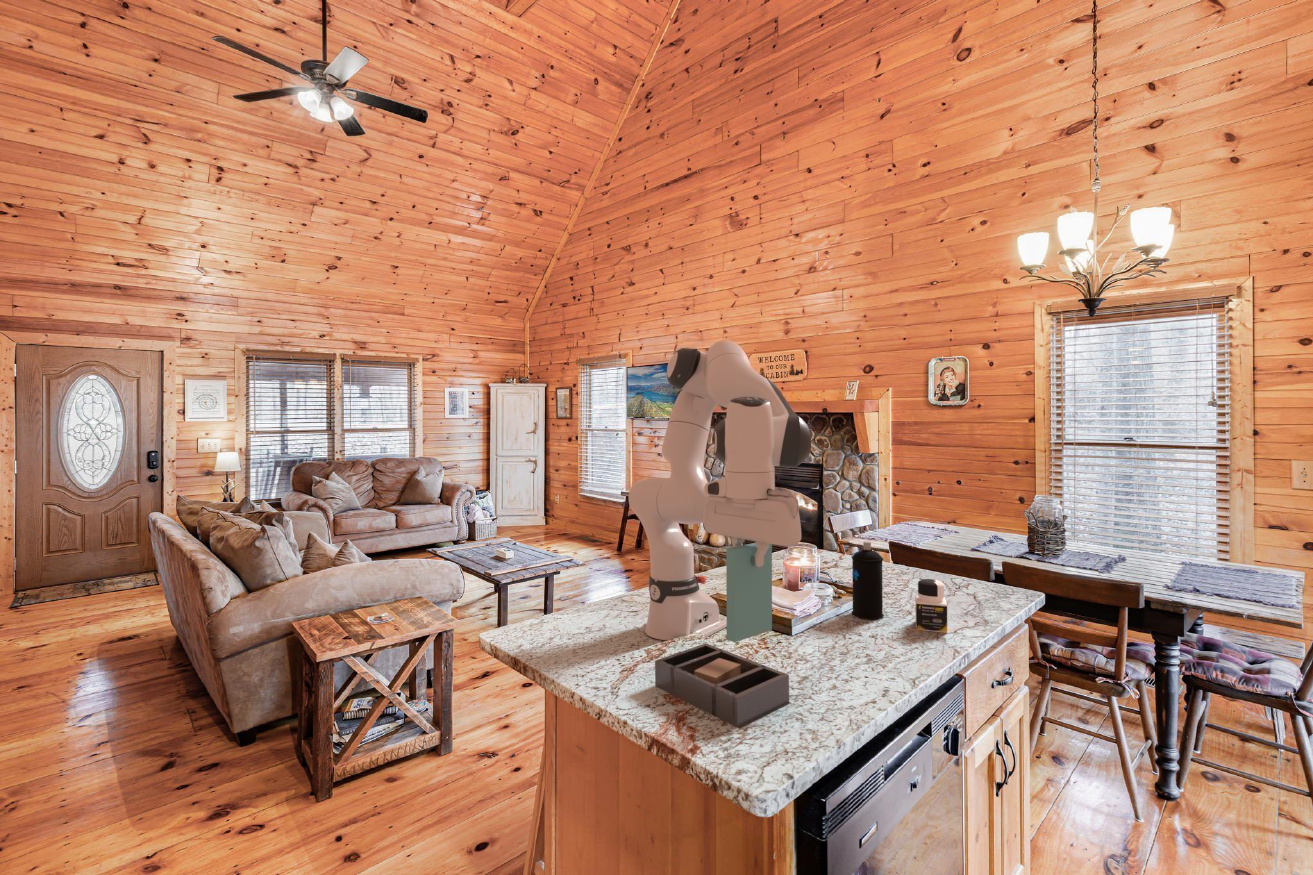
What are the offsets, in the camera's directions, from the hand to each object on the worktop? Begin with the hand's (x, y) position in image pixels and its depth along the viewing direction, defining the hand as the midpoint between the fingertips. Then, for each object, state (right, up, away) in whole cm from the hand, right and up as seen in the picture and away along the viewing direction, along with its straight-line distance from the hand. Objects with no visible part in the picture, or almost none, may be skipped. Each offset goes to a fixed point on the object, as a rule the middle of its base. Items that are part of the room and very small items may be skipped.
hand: (749, 564), depth 107 cm
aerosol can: (+41, -26, +56) cm, 74 cm away
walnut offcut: (-5, -23, +6) cm, 25 cm away
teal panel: (0, -13, 0) cm, 13 cm away
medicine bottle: (+53, -26, +46) cm, 75 cm away
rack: (-4, -27, +5) cm, 28 cm away
